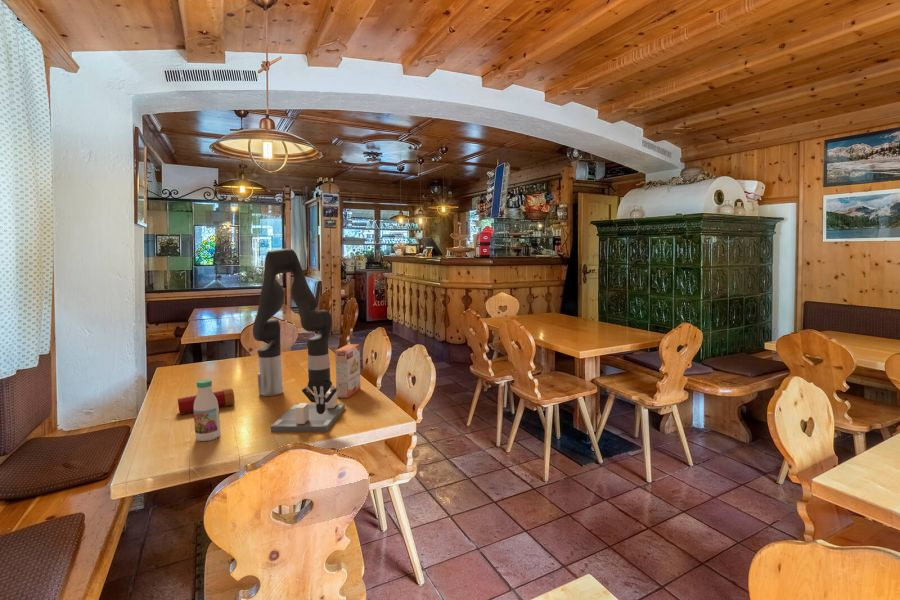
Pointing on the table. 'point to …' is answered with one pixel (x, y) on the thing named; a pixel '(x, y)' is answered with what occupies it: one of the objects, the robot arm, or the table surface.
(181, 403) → the red tube
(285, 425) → the breaker panel
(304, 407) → the beige rectangular block
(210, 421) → the milk bottle
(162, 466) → the table surface
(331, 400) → the handle
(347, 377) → the cracker box
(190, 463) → the table surface
